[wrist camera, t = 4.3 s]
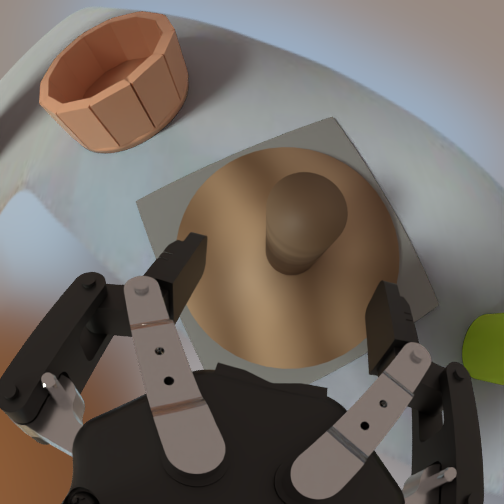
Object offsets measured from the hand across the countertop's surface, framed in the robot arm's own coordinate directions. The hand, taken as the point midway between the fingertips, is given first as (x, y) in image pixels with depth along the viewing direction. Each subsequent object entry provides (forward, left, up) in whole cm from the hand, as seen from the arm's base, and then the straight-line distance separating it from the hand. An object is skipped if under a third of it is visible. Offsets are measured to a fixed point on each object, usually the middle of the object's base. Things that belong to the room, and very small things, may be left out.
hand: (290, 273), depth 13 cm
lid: (+2, +2, -8) cm, 8 cm away
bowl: (-5, +23, -8) cm, 25 cm away
